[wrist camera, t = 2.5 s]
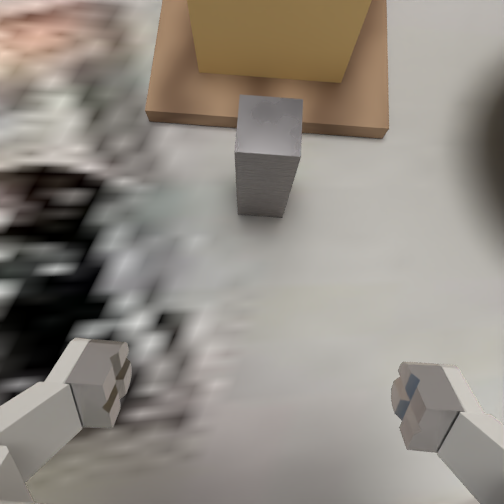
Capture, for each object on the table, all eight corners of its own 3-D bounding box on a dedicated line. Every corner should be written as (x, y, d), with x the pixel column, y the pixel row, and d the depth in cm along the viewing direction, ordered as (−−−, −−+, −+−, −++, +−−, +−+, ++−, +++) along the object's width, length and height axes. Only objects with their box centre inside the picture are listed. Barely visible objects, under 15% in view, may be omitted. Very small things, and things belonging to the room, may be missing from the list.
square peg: (237, 214, 30) (234, 151, 20) (241, 173, 31) (239, 94, 21) (282, 217, 30) (300, 156, 20) (284, 176, 31) (303, 99, 21)
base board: (149, 121, 31) (145, 110, 30) (181, -81, 37) (178, -99, 36) (382, 138, 32) (388, 128, 30) (379, -66, 37) (384, -83, 36)
